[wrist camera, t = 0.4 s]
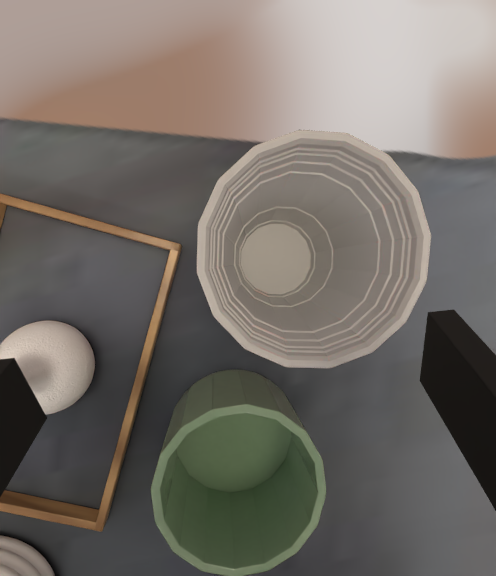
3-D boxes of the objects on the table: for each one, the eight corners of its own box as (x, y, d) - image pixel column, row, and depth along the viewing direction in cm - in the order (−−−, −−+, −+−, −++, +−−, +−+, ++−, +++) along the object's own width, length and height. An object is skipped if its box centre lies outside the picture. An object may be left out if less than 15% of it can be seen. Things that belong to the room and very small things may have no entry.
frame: (107, 519, 28) (101, 532, 27) (-77, 481, 27) (-93, 492, 25) (182, 245, 28) (180, 244, 26) (0, 194, 27) (-11, 190, 25)
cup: (276, 504, 29) (299, 591, 21) (155, 478, 28) (131, 557, 20) (309, 386, 29) (345, 427, 21) (188, 355, 28) (178, 386, 20)
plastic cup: (188, 315, 28) (168, 345, 16) (221, 174, 28) (226, 99, 16) (326, 346, 29) (403, 396, 17) (358, 210, 29) (460, 165, 17)
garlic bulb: (-3, 388, 27) (-94, 435, 19) (27, 306, 27) (-52, 319, 19) (83, 414, 28) (29, 471, 20) (112, 334, 28) (70, 358, 20)
